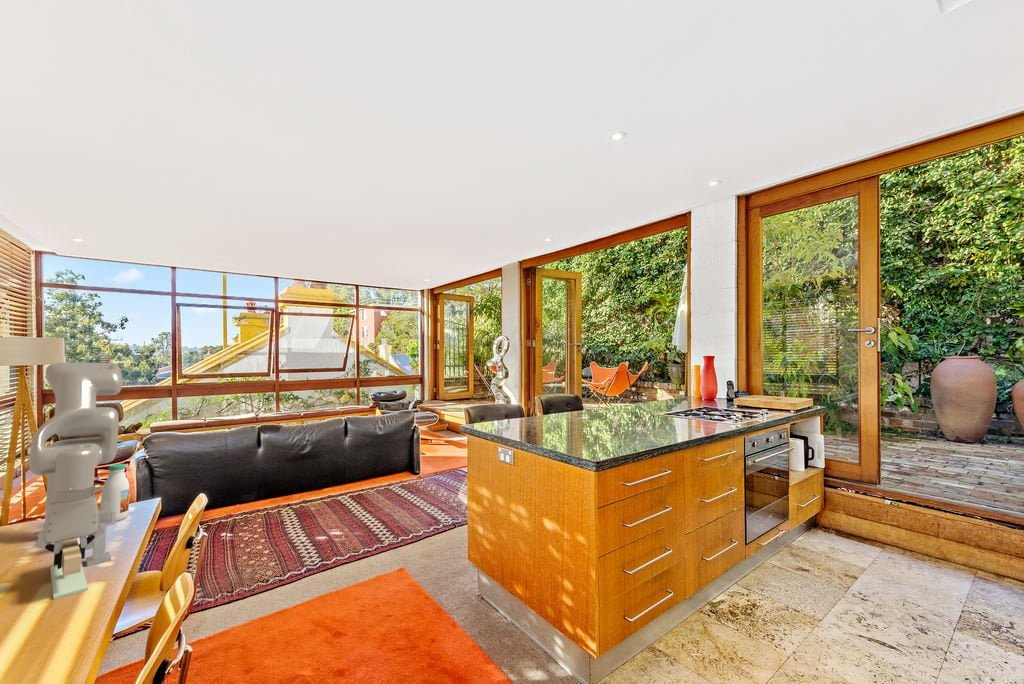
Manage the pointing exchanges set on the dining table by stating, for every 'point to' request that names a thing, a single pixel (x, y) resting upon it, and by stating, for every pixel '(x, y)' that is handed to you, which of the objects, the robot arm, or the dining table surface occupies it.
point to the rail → (71, 557)
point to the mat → (67, 582)
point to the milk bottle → (116, 493)
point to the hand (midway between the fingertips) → (69, 564)
